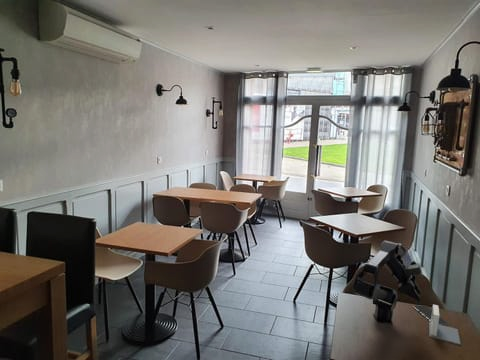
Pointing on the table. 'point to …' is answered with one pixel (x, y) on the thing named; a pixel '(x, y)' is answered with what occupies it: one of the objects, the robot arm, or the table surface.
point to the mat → (446, 334)
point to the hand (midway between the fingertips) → (420, 296)
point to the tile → (434, 320)
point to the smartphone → (428, 313)
